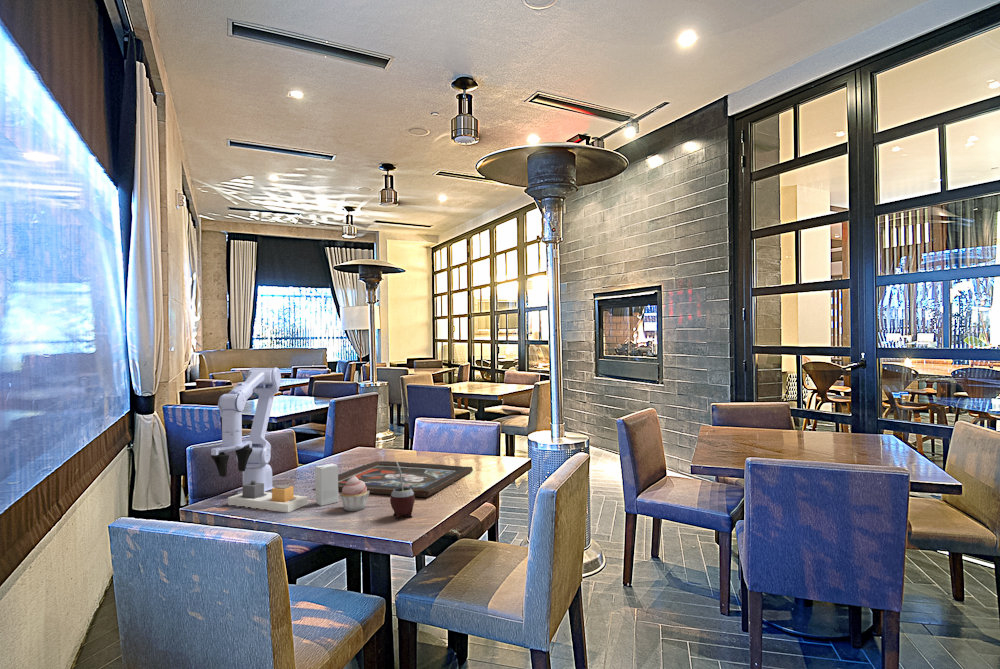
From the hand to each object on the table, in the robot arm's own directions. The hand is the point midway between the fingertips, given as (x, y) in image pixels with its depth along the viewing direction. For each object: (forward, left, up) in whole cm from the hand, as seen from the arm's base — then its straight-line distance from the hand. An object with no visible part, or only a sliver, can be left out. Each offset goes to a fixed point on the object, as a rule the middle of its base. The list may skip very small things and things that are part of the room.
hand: (232, 473), depth 182 cm
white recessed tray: (-4, +11, -10) cm, 15 cm away
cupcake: (-9, +40, -10) cm, 42 cm away
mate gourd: (-7, +58, -10) cm, 59 cm away
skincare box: (-11, +28, -10) cm, 32 cm away
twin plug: (-4, +5, -10) cm, 12 cm away
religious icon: (-44, +35, -11) cm, 57 cm away
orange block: (-4, +17, -10) cm, 20 cm away
